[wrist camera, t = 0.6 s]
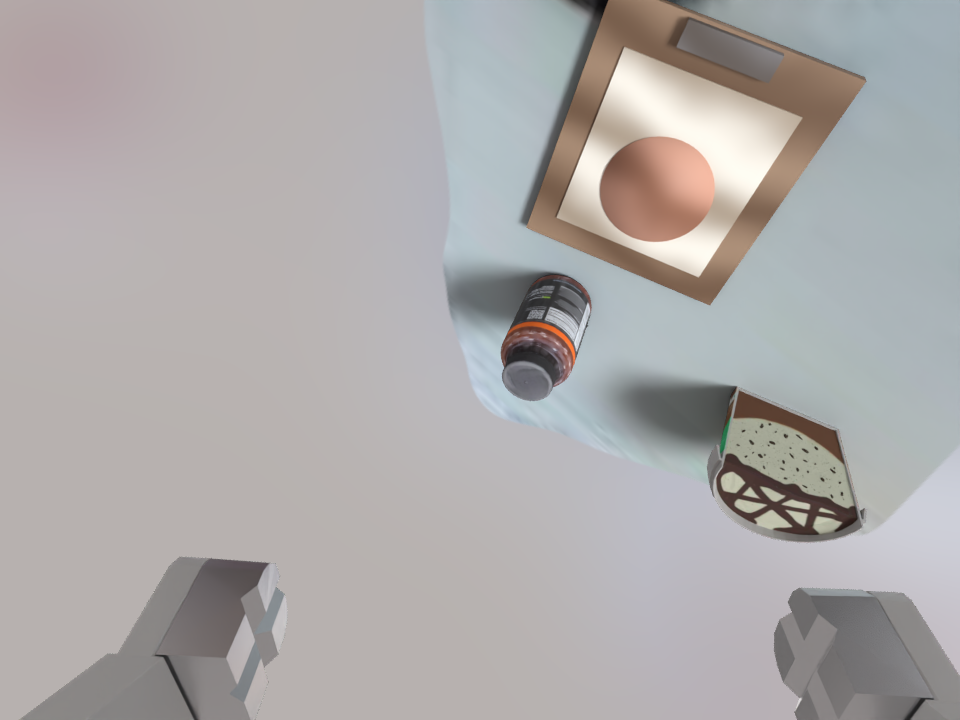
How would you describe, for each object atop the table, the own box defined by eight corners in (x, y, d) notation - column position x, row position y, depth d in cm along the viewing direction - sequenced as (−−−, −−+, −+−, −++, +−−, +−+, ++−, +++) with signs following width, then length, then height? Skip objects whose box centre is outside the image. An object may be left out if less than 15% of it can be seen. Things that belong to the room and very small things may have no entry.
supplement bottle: (555, 337, 56) (521, 420, 48) (514, 291, 55) (472, 370, 46) (607, 310, 53) (580, 396, 44) (565, 259, 51) (529, 340, 43)
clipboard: (616, -19, 37) (612, -15, 36) (864, 77, 36) (867, 84, 35) (529, 223, 50) (523, 231, 49) (710, 299, 49) (709, 310, 47)
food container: (687, 421, 57) (677, 504, 50) (721, 379, 53) (715, 463, 46) (810, 474, 56) (818, 566, 49) (854, 436, 52) (870, 531, 45)
